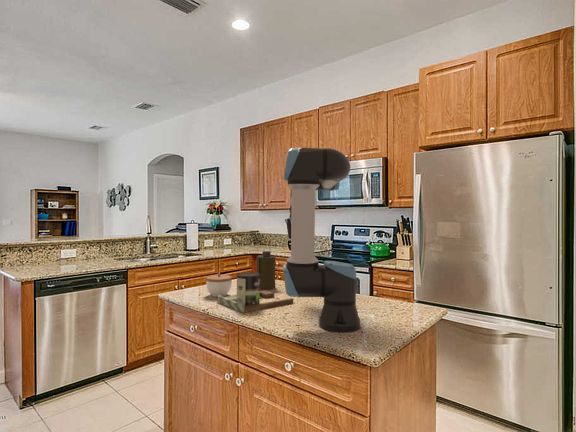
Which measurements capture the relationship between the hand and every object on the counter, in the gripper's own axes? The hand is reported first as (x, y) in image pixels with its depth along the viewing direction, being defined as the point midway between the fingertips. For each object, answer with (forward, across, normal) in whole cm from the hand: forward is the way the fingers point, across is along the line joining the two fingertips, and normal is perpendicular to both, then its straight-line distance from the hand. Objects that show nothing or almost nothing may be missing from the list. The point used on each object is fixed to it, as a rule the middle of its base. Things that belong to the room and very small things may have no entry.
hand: (295, 253), depth 175 cm
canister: (+19, -2, -30) cm, 36 cm away
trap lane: (+24, +17, -4) cm, 29 cm away
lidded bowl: (+22, +27, -27) cm, 44 cm away
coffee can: (+25, +23, -1) cm, 34 cm away
